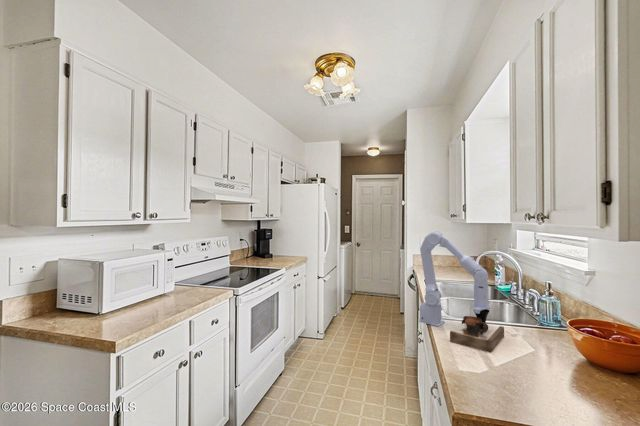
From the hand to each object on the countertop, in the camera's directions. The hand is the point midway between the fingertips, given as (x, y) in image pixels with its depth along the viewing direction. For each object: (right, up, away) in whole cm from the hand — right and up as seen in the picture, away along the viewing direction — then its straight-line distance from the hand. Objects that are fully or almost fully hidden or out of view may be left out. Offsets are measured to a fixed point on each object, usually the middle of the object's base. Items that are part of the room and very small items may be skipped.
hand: (481, 325), depth 133 cm
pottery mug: (-5, -2, -4) cm, 7 cm away
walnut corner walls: (-7, -2, -10) cm, 12 cm away
